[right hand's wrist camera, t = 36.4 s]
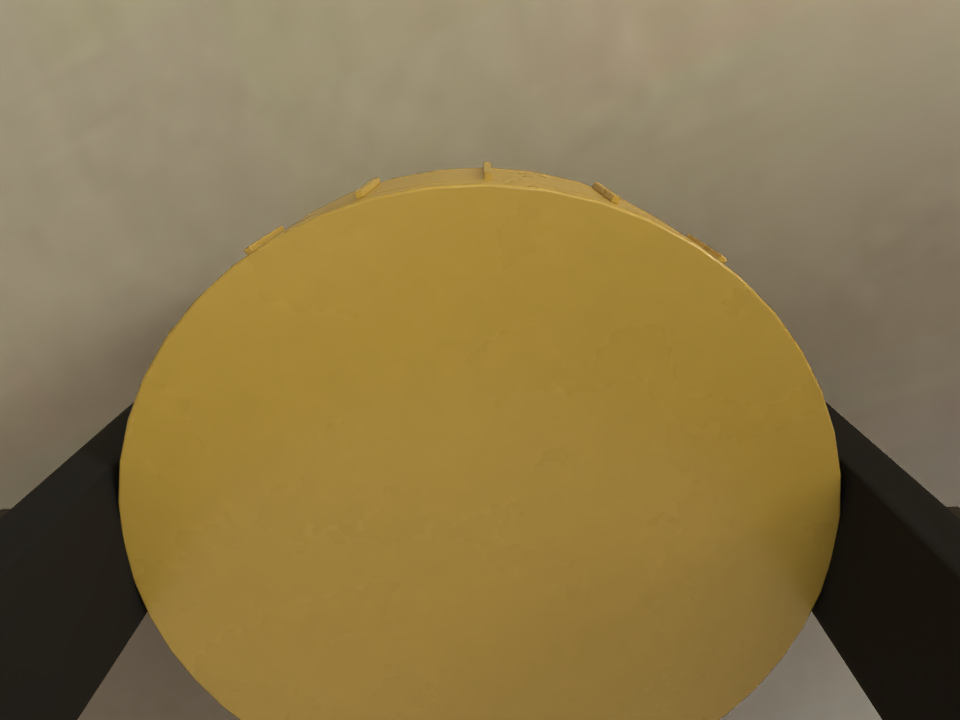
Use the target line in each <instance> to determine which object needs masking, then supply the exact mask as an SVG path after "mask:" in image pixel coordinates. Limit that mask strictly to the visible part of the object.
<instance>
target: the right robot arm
mask: <svg viewBox="0 0 960 720" xmlns="http://www.w3.org/2000/svg"><path fill="white" fill-rule="evenodd" d="M133 404H134V402H133V403H132V404H131V405H130V406H129V407H128V408H127V409H125V410H124V411H123V412H122V413H121V414H120V415H118V416H117V417H116V418H115V419H114V420H113V421H112V422H110V423H109V424H108V425H107V426H106V427H105V428H104V429H102V430H101V431H100V432H99V433H98V434H97V435H96V436H94V437H93V438H92V439H91V440H90V441H89V442H88V443H86V444H85V445H84V446H83V447H82V448H81V449H79V450H78V451H77V452H76V453H75V454H74V455H73V456H71V457H70V458H69V459H68V460H67V461H66V462H65V463H63V464H62V465H61V466H60V467H59V468H58V469H57V470H55V471H54V472H53V473H52V474H51V475H50V476H49V477H47V478H46V479H45V480H44V481H43V482H42V483H40V484H39V485H38V486H37V487H36V488H35V489H34V490H32V491H31V492H30V493H29V494H28V495H27V496H26V497H24V498H23V499H22V500H21V501H20V502H19V503H18V504H16V505H15V506H14V507H13V508H12V509H1V510H0V720H77V719H78V718H79V716H80V715H81V713H82V712H83V710H84V708H85V707H86V705H87V704H88V702H89V701H90V699H91V698H92V696H93V695H94V693H95V692H96V690H97V688H98V687H99V685H100V684H101V682H102V681H103V679H104V678H105V676H106V675H107V673H108V672H109V670H110V668H111V667H112V665H113V664H114V662H115V661H116V659H117V658H118V656H119V655H120V653H121V652H122V650H123V648H124V647H125V645H126V644H127V642H128V641H129V639H130V638H131V636H132V635H133V633H134V632H135V630H136V628H137V627H138V625H139V624H140V622H141V621H142V619H143V618H144V616H145V615H146V613H147V612H148V611H147V609H146V607H145V604H144V602H143V600H142V598H141V595H140V593H139V591H138V589H137V586H136V584H135V582H134V579H133V575H132V572H131V568H130V564H129V560H128V556H127V552H126V547H125V543H124V538H123V533H122V528H121V520H120V512H119V504H118V500H119V468H120V457H121V452H122V447H123V442H124V437H125V432H126V426H127V421H128V418H129V415H130V412H131V409H132V407H133ZM826 406H827V409H828V412H829V415H830V419H831V422H832V425H833V428H834V431H835V438H836V445H837V452H838V459H839V466H840V473H841V486H840V518H839V524H838V529H837V534H836V538H835V543H834V548H833V553H832V557H831V561H830V565H829V569H828V572H827V575H826V578H825V581H824V584H823V587H822V590H821V593H820V595H819V597H818V599H817V601H816V603H815V605H814V607H813V609H812V612H813V614H814V615H815V617H816V618H817V620H818V621H819V623H820V625H821V626H822V628H823V629H824V631H825V632H826V634H827V635H828V637H829V638H830V640H831V641H832V643H833V645H834V646H835V648H836V649H837V651H838V652H839V654H840V655H841V657H842V658H843V660H844V661H845V663H846V665H847V666H848V668H849V669H850V671H851V672H852V674H853V675H854V677H855V678H856V680H857V681H858V683H859V685H860V686H861V688H862V689H863V691H864V692H865V694H866V695H867V697H868V698H869V700H870V701H871V703H872V705H873V706H874V708H875V709H876V711H877V712H878V714H879V715H880V717H881V718H882V720H960V508H959V507H945V506H944V505H943V504H942V503H941V502H940V501H938V500H937V499H936V498H935V497H934V496H933V495H932V494H930V493H929V492H928V491H927V490H926V489H925V488H924V487H922V486H921V485H920V484H919V483H918V482H917V481H916V480H914V479H913V478H912V477H911V476H910V475H909V474H908V473H906V472H905V471H904V470H903V469H902V468H901V467H900V466H898V465H897V464H896V463H895V462H894V461H893V460H891V459H890V458H889V457H888V456H887V455H886V454H885V453H883V452H882V451H881V450H880V449H879V448H878V447H877V446H875V445H874V444H873V443H872V442H871V441H870V440H869V439H867V438H866V437H865V436H864V435H863V434H862V433H861V432H859V431H858V430H857V429H856V428H855V427H854V426H852V425H851V424H850V423H849V422H848V421H847V420H846V419H844V418H843V417H842V416H841V415H840V414H839V413H838V412H836V411H835V410H834V409H833V408H832V407H831V406H830V405H828V404H827V403H826Z"/></svg>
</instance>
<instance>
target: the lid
mask: <svg viewBox="0 0 960 720" xmlns="http://www.w3.org/2000/svg"><path fill="white" fill-rule="evenodd" d="M244 251H245V252H246V253H247V255H248V256H246V257H245V258H243V259H242V260H240V261H239V262H238V263H236V264H235V265H233V266H232V267H231V268H230V269H228V270H227V271H226V272H225V273H224V274H223V275H222V276H221V277H220V278H219V279H218V280H217V281H216V282H214V283H213V284H212V285H211V286H210V287H209V288H208V289H207V290H206V291H205V292H204V293H203V294H202V295H201V296H199V297H198V298H197V299H196V300H195V301H194V303H193V304H192V305H191V306H190V308H189V309H188V310H187V311H186V313H185V314H184V315H183V316H182V318H181V319H180V320H179V322H178V323H177V324H176V325H175V327H173V328H172V329H171V330H170V332H169V333H168V335H167V337H166V338H165V340H164V342H163V343H162V345H161V347H160V349H159V350H158V352H157V354H156V356H155V358H154V359H153V361H152V363H151V365H150V366H149V368H148V370H147V372H146V374H145V375H144V377H143V379H142V382H141V385H140V388H139V390H138V393H137V396H136V399H135V401H134V404H133V407H132V409H131V412H130V415H129V418H128V421H127V426H126V432H125V437H124V442H123V447H122V452H121V457H120V468H119V500H118V504H119V512H120V520H121V528H122V533H123V538H124V543H125V547H126V552H127V556H128V560H129V564H130V568H131V572H132V575H133V579H134V582H135V584H136V586H137V589H138V591H139V593H140V595H141V598H142V600H143V602H144V604H145V607H146V609H147V611H148V613H149V616H150V617H151V619H152V621H153V622H154V624H155V626H156V627H157V629H158V630H159V632H160V634H161V635H162V637H163V638H164V640H165V642H166V643H167V645H168V646H169V648H170V650H171V651H172V652H173V653H174V655H175V656H176V657H177V658H178V660H179V661H180V662H181V663H182V664H183V666H184V667H185V668H186V669H187V671H188V672H189V673H190V674H191V675H192V677H193V678H194V679H195V680H196V681H197V682H198V683H199V684H200V685H201V686H202V687H203V688H204V689H205V690H206V691H207V692H208V693H209V694H210V695H211V696H212V697H213V698H215V699H216V700H217V701H218V702H219V703H220V704H221V705H222V706H223V707H224V708H226V709H227V710H228V711H229V712H231V713H232V714H233V715H235V716H236V717H237V718H239V719H240V720H719V719H721V718H722V717H723V716H725V715H726V714H728V713H729V712H730V711H731V710H732V709H733V708H734V707H735V706H737V705H738V704H739V703H740V702H741V701H742V700H743V699H744V698H746V697H747V696H748V695H749V694H750V693H751V692H752V691H753V690H754V689H756V688H757V686H758V685H759V684H760V683H761V682H762V681H763V680H764V678H765V677H766V676H767V675H768V674H769V673H770V672H771V671H772V669H773V668H774V667H775V666H776V665H777V664H778V663H779V661H780V660H781V659H782V658H783V656H784V655H785V653H786V652H787V650H788V649H789V647H790V646H791V644H792V643H793V642H794V640H795V639H796V637H797V636H798V634H799V633H800V631H801V630H802V628H803V627H804V625H805V623H806V621H807V619H808V617H809V615H810V613H811V611H812V609H813V607H814V605H815V603H816V601H817V599H818V597H819V595H820V593H821V590H822V587H823V584H824V581H825V578H826V575H827V572H828V569H829V565H830V561H831V557H832V553H833V548H834V543H835V538H836V534H837V529H838V524H839V518H840V486H841V473H840V466H839V459H838V452H837V445H836V438H835V431H834V428H833V425H832V422H831V419H830V415H829V412H828V409H827V406H826V402H825V399H824V396H823V393H822V390H821V388H820V386H819V384H818V382H817V380H816V378H815V376H814V374H813V372H812V370H811V368H810V366H809V364H808V362H807V360H806V358H805V356H804V354H803V352H802V350H801V348H800V347H799V346H798V344H797V343H796V341H795V340H794V339H793V337H792V336H791V334H790V333H789V332H788V330H787V329H786V327H785V326H784V325H783V323H782V322H781V320H780V319H779V318H778V316H777V315H776V313H775V312H774V311H773V310H772V309H771V308H770V307H769V306H768V305H767V304H766V303H765V302H764V301H763V300H762V299H761V298H760V297H759V296H758V295H757V294H756V293H755V292H754V290H753V289H752V288H751V287H750V286H749V285H748V284H747V283H746V282H745V281H744V280H743V279H742V278H741V277H740V276H738V275H737V274H736V273H735V272H733V271H732V270H731V269H729V268H728V267H727V266H725V265H724V263H725V262H726V261H727V259H726V258H725V257H724V256H722V255H721V254H719V253H718V252H716V251H715V250H713V249H711V248H710V247H708V246H707V245H705V244H704V243H702V242H700V241H699V240H697V239H696V238H694V237H693V236H691V235H689V234H688V235H687V236H686V237H685V236H684V235H682V234H681V233H679V232H678V231H676V230H675V229H673V228H672V227H670V226H669V225H667V224H666V223H664V222H662V221H661V220H659V219H658V218H656V217H654V216H652V215H651V214H649V213H647V212H645V211H643V210H641V209H640V208H638V207H636V206H634V205H632V204H631V203H629V202H627V201H625V200H623V199H621V198H620V197H619V196H617V195H616V194H615V193H613V192H612V191H610V190H609V189H607V188H606V187H604V186H603V185H601V184H600V183H597V182H594V184H593V187H590V186H588V185H585V184H582V183H580V182H577V181H572V180H568V179H564V178H559V177H555V176H551V175H546V174H542V173H537V172H533V171H522V170H510V169H499V168H491V163H490V162H484V163H483V168H464V169H442V170H436V171H430V172H425V173H419V174H414V175H408V176H403V177H398V178H394V179H390V180H387V181H384V182H381V183H380V180H379V178H378V177H377V178H374V179H372V180H371V181H369V182H368V183H366V184H365V185H364V186H362V187H361V188H360V189H358V190H357V191H354V192H351V193H349V194H347V195H345V196H343V197H341V198H339V199H337V200H335V201H333V202H331V203H329V204H327V205H325V206H323V207H321V208H319V209H317V210H315V211H313V212H311V213H310V214H308V215H307V216H305V217H304V218H302V219H301V220H299V221H298V222H296V223H295V224H293V225H292V226H290V227H289V228H287V229H286V230H285V229H284V228H283V227H282V226H280V227H279V228H277V229H275V230H274V231H272V232H271V233H269V234H268V235H266V236H264V237H263V238H261V239H260V240H258V241H256V242H255V243H253V244H252V245H250V246H249V247H247V248H246V249H245V250H244Z"/></svg>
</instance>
